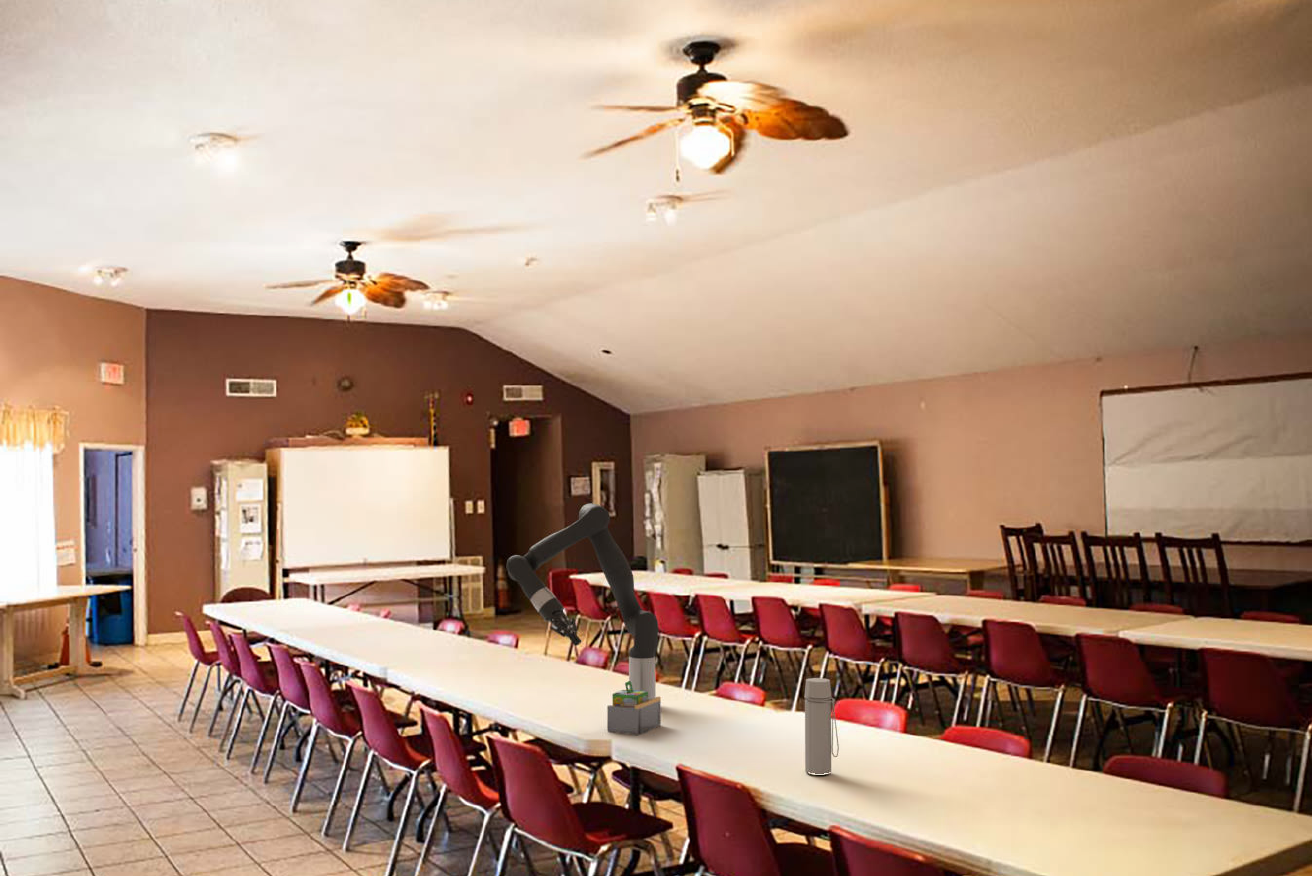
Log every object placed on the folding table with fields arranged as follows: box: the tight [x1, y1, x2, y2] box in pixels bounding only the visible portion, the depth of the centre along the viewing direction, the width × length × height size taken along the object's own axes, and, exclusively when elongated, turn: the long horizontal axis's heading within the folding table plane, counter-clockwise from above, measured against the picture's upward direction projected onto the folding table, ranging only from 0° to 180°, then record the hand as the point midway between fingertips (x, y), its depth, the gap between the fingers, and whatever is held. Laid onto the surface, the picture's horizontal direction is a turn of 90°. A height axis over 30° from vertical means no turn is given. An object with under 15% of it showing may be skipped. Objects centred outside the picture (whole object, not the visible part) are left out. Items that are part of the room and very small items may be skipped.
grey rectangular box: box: [606, 696, 662, 736], centre depth 365 cm, size 16×11×9 cm
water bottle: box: [803, 677, 840, 774], centre depth 308 cm, size 9×8×25 cm
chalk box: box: [612, 680, 648, 708], centre depth 365 cm, size 9×9×15 cm
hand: (578, 643), depth 375 cm, fingers closed
